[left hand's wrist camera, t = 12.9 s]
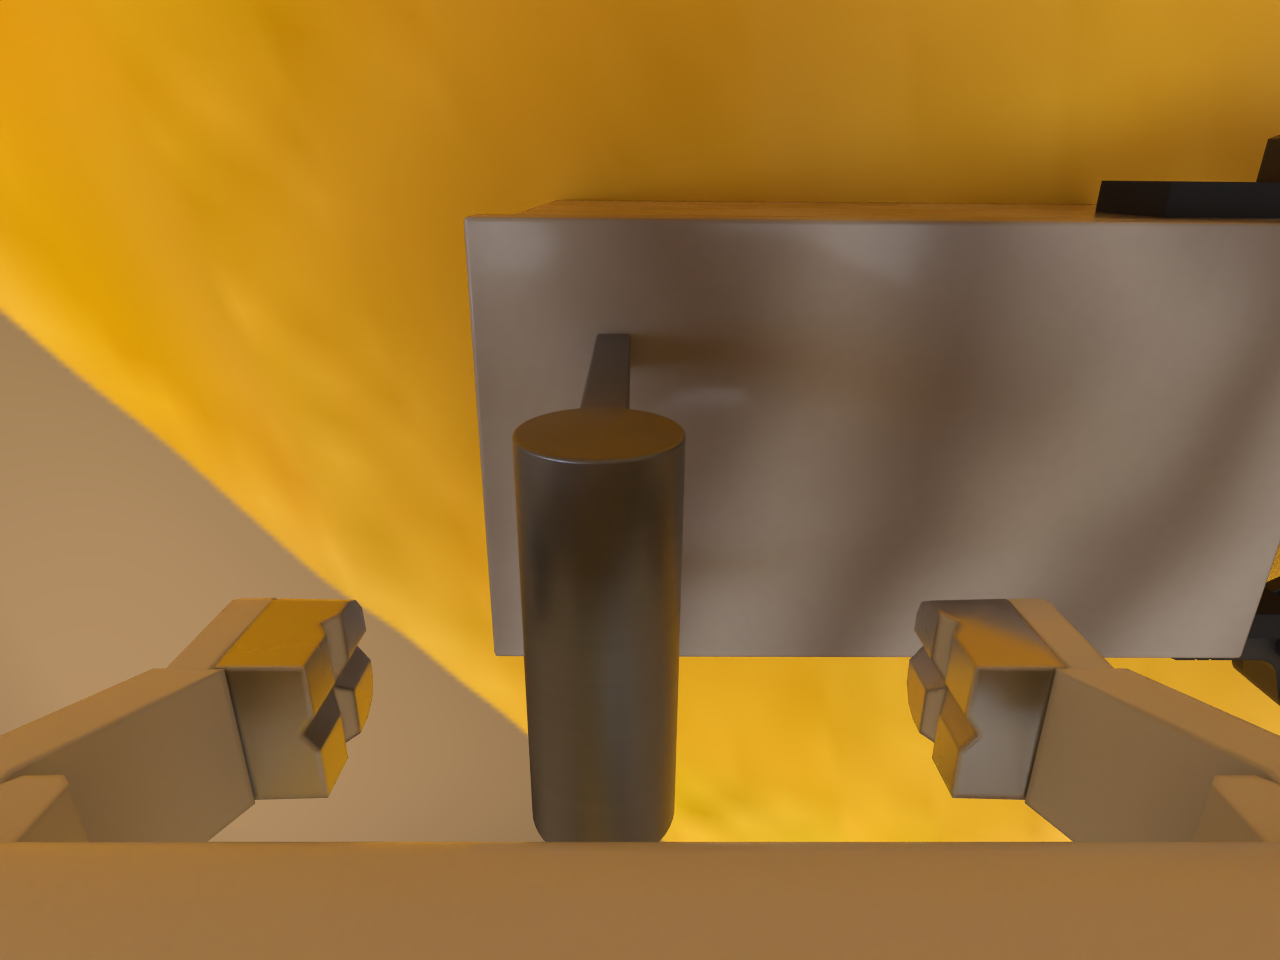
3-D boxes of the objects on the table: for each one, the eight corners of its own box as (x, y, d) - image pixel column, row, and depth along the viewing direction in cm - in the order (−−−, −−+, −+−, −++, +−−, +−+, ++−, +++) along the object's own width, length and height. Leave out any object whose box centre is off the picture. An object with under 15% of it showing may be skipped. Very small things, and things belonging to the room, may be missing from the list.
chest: (563, 491, 29) (532, 633, 20) (554, 199, 25) (511, 214, 16) (1033, 493, 29) (1211, 635, 20) (1094, 204, 25) (1344, 221, 16)
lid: (500, 633, 20) (402, 973, 11) (472, 214, 16) (296, 257, 8) (1212, 636, 20) (1632, 972, 12) (1347, 221, 16) (2112, 271, 8)
